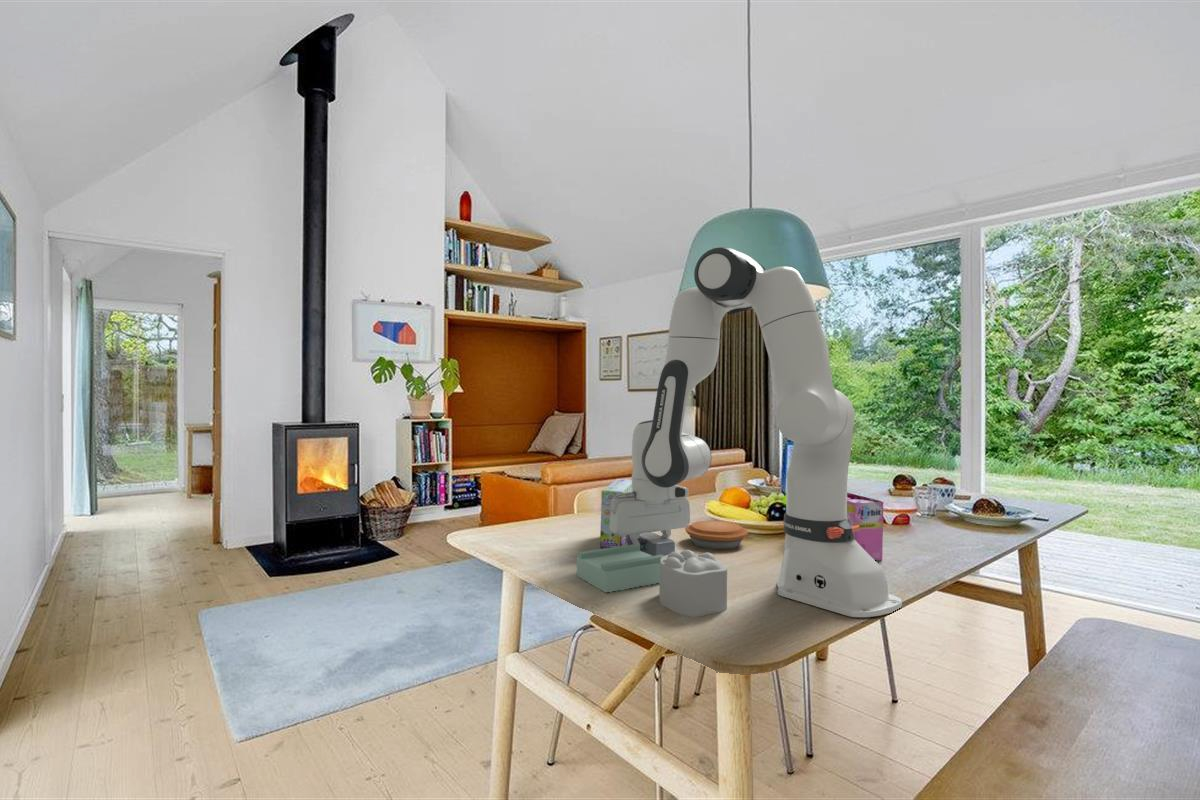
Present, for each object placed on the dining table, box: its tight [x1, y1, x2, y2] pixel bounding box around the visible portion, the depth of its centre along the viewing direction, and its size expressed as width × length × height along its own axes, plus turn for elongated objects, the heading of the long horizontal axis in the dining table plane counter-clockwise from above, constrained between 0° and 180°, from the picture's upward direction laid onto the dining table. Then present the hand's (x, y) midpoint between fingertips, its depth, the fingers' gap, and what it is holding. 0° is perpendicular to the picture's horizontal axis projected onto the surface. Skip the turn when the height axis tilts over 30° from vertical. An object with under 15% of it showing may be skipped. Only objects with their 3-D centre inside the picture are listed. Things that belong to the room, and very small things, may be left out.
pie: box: [684, 520, 749, 550], centre depth 150 cm, size 15×16×5 cm
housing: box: [627, 532, 676, 556], centre depth 136 cm, size 12×5×5 cm, turn 29°
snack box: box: [599, 478, 632, 549], centre depth 148 cm, size 21×6×15 cm, turn 168°
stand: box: [576, 544, 663, 594], centre depth 121 cm, size 12×14×5 cm
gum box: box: [847, 492, 884, 561], centre depth 146 cm, size 24×8×14 cm, turn 14°
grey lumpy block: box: [658, 549, 728, 618], centre depth 108 cm, size 10×13×9 cm
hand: (650, 550), depth 136 cm, fingers closed on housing, 5 cm apart
